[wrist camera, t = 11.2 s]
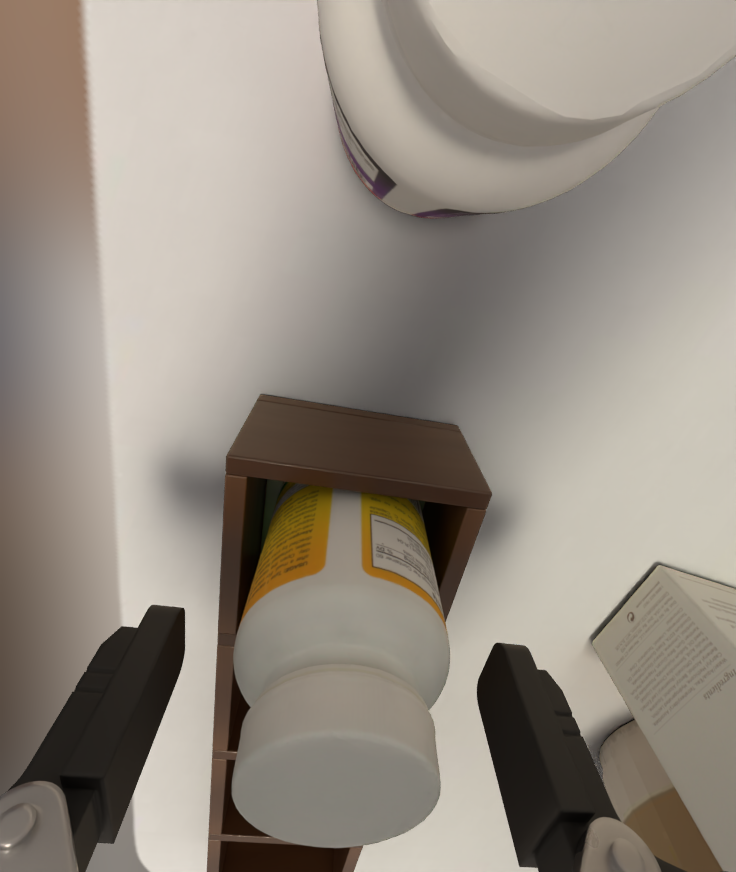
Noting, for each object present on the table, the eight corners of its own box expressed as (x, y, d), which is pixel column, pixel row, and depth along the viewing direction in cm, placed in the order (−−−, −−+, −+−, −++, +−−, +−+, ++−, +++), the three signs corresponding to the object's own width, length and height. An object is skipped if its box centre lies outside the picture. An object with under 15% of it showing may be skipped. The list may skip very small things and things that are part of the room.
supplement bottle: (424, 443, 16) (506, 712, 7) (411, 557, 18) (461, 863, 9) (273, 439, 15) (171, 712, 7) (281, 555, 18) (211, 867, 9)
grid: (260, 393, 16) (225, 454, 11) (458, 424, 16) (493, 493, 12) (223, 850, 30) (203, 949, 26) (328, 855, 31) (324, 952, 27)
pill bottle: (569, 37, 11) (1266, -564, 3) (475, 246, 14) (691, 288, 5) (378, -70, 10) (496, -1551, 2) (310, 173, 13) (209, 64, 4)
